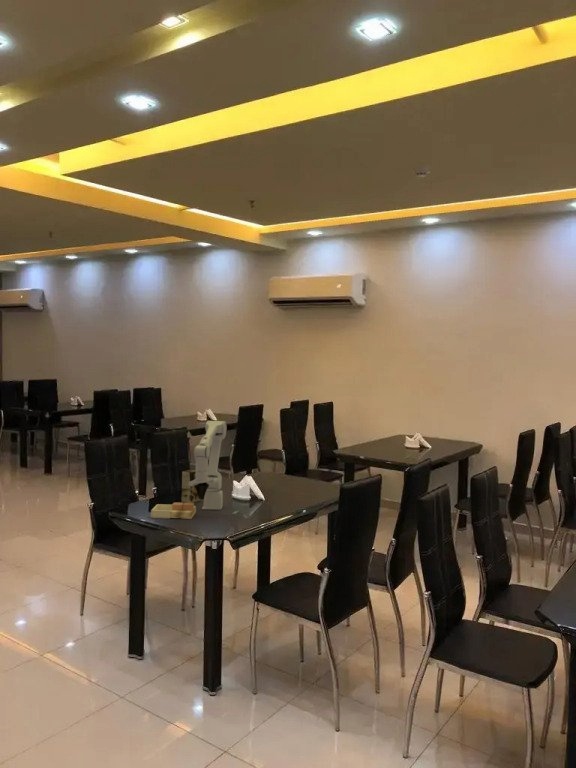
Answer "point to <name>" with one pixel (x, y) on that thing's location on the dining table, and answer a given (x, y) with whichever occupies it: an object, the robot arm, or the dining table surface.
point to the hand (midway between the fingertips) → (201, 499)
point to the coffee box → (189, 487)
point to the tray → (161, 511)
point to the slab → (183, 513)
